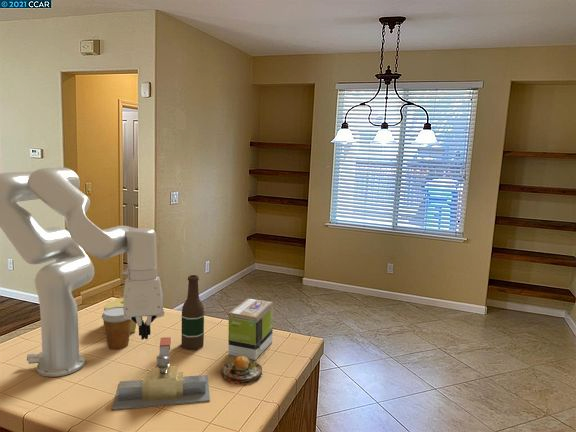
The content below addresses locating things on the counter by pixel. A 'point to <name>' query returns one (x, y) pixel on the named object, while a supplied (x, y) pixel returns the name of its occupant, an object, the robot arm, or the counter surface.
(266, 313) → the tea box
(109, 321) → the disposable coffee cup
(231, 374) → the plate of food
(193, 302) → the beer bottle
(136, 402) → the mat
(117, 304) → the cheese
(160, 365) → the lever
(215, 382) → the counter surface
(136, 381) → the valve
